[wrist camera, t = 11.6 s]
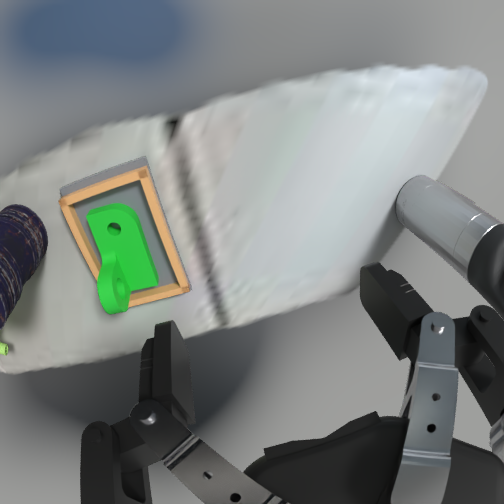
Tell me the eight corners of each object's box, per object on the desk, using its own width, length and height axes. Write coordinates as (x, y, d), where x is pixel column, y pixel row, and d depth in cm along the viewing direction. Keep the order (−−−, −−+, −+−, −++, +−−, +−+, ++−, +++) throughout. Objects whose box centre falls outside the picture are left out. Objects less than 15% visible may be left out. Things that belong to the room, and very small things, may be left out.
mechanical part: (158, 276, 42) (156, 315, 35) (120, 285, 42) (111, 323, 35) (132, 197, 36) (121, 226, 29) (90, 209, 35) (71, 239, 28)
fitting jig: (145, 155, 34) (142, 160, 32) (191, 286, 45) (192, 296, 43) (62, 186, 34) (55, 193, 32) (118, 305, 44) (116, 315, 42)
